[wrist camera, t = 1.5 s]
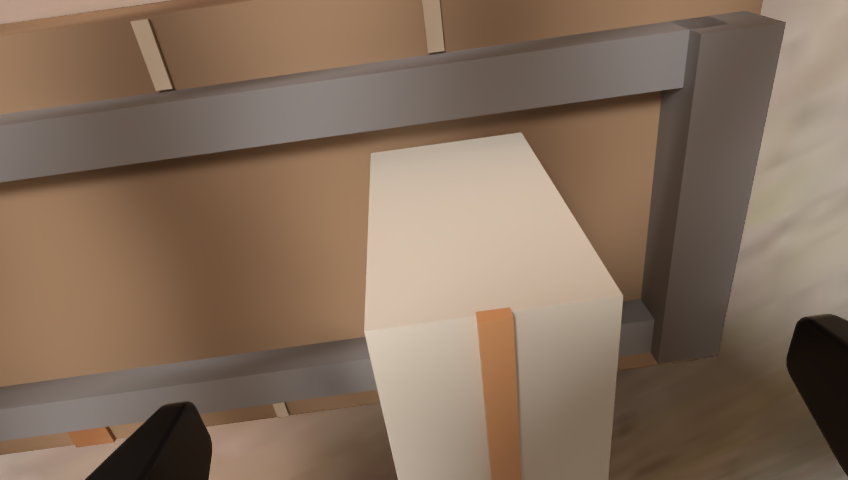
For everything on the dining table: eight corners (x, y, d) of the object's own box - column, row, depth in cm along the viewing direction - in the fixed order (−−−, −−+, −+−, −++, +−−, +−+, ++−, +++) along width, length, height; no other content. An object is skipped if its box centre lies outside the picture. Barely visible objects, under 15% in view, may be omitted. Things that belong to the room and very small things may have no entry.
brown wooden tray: (716, -80, 11) (824, -75, 8) (664, 311, 16) (721, 393, 14) (-363, 71, 11) (-601, 124, 9) (-75, 413, 17) (-165, 514, 14)
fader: (521, 131, 11) (628, 302, 6) (526, 294, 13) (609, 516, 8) (370, 152, 11) (363, 338, 6) (399, 312, 13) (411, 542, 8)
